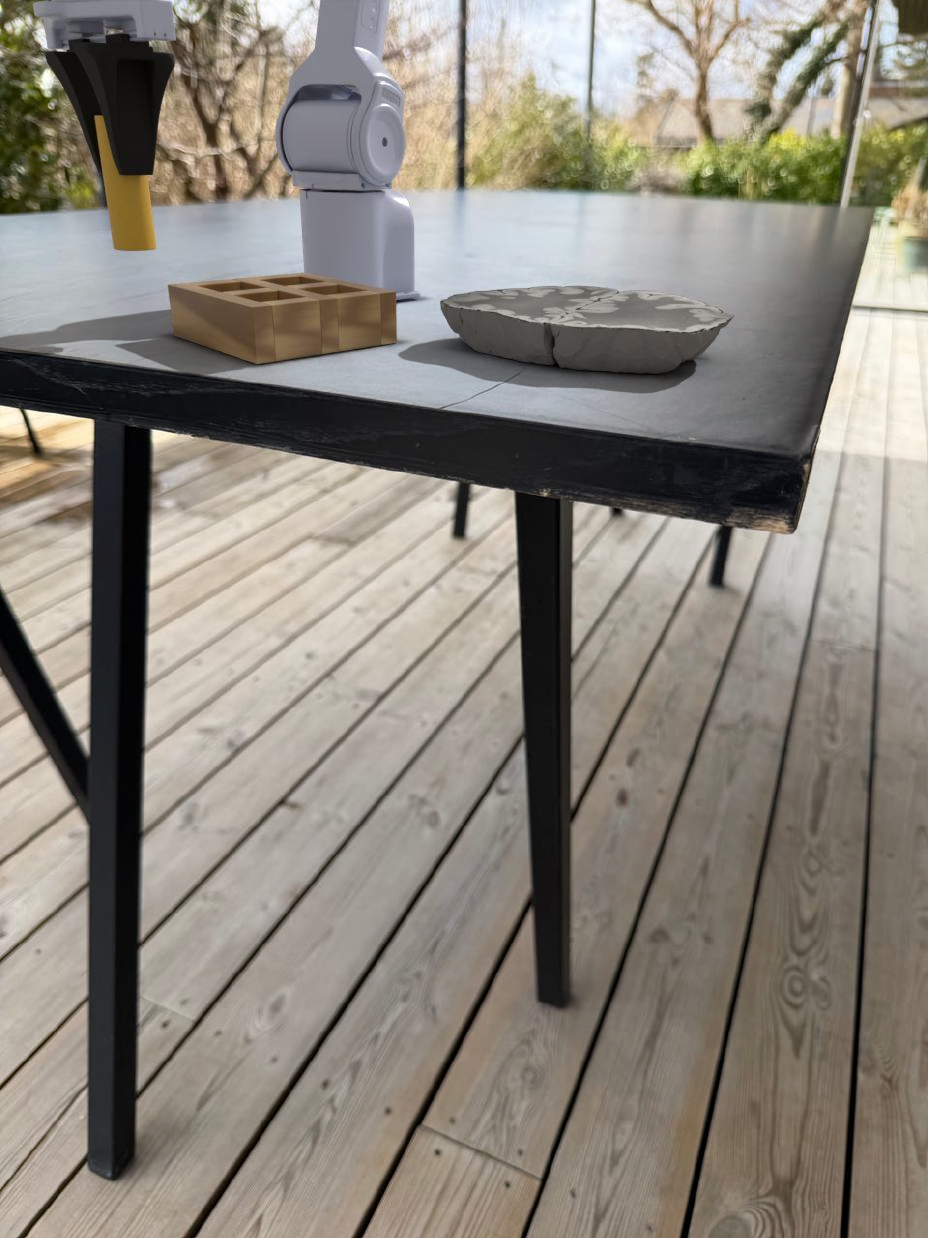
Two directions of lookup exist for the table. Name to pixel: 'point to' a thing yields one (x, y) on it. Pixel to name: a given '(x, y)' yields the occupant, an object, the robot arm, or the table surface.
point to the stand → (283, 316)
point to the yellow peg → (125, 201)
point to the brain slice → (586, 327)
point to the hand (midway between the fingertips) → (125, 174)
